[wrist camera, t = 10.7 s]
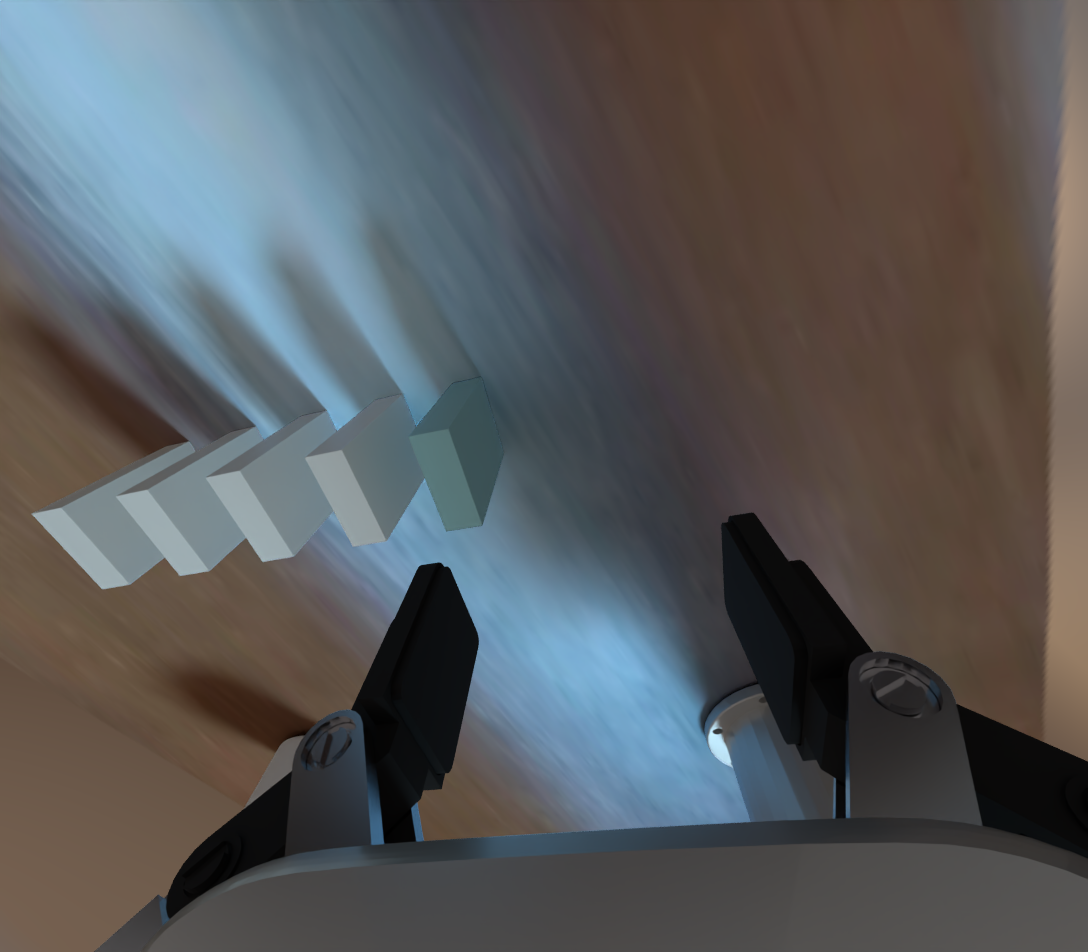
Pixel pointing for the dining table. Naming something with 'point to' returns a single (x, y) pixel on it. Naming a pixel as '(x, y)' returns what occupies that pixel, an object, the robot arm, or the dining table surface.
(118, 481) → the domino
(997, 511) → the dining table surface
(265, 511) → the domino
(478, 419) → the domino
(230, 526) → the domino
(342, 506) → the domino
